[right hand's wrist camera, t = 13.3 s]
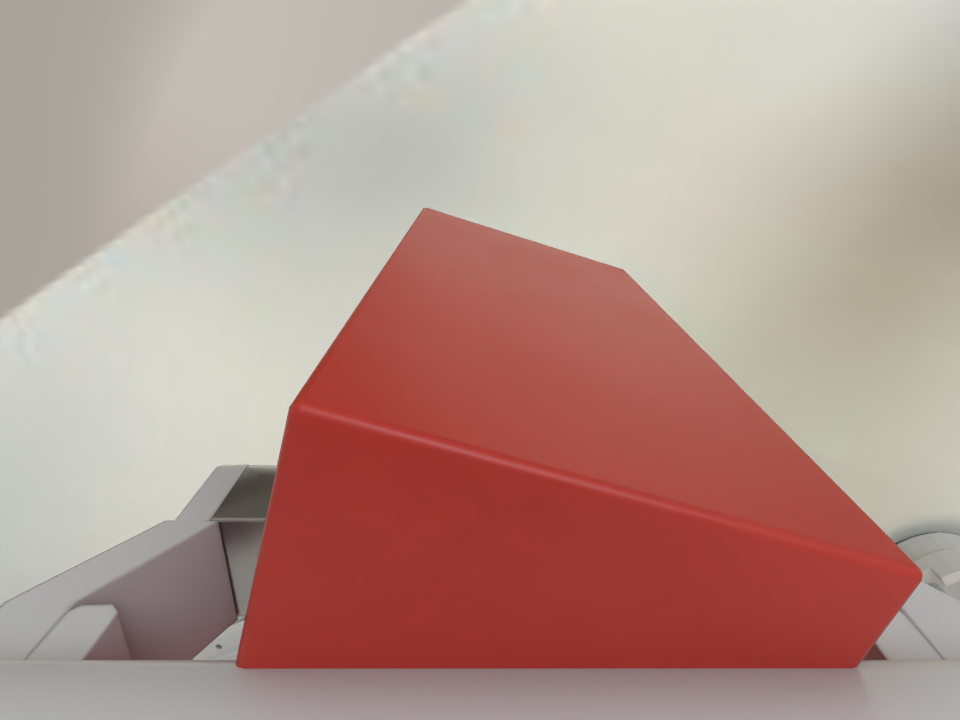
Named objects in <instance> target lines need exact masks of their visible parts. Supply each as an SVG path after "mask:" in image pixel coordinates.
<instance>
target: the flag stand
mask: <svg viewBox="0 0 960 720" xmlns="http://www.w3.org/2000/svg"><path fill="white" fill-rule="evenodd" d="M897 546H898V547H899V548H900V549H901V550H902V551H903V552H904V553H905V554H906V555H907V556H908V557H909V558H910V559H911V560H912V561H913V562H914V563H915V564H916V565H917V566H918V567H919V568H920V569H921V571H922V573H923V576H922V582H924V583H926V584H928V585H930V586H932V587H934V588H936V589H938V590H940V591H942V592H944V593H946V594H948V595H950V596H952V597H954V598H956V599H958V600H960V535H956V534H952V533H930V534H924V535H920V536H916V537H913V538H910V539H908V540H905V541H903V542H901V543H899V544H897Z"/></svg>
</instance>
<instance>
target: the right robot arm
mask: <svg viewBox="0 0 960 720" xmlns="http://www.w3.org/2000/svg"><path fill="white" fill-rule="evenodd" d="M276 468H277V466H268V465H251V466H249V465H222V466H218V467H216V468H215V470H214V471H213V472H212V474H211V475H210V476H209V477H208V479H207V480H206V481H205V483H204V484H203V485H202V486H201V488H200V489H199V490H198V491H197V493H196V494H195V495H194V497H193V498H192V499H191V500H190V502H189V503H188V504H187V506H186V507H185V508H184V509H183V511H182V512H181V513H180V515H179V516H178V517H177V518H176V520H175V521H164V522H162V523H160V524H158V525H156V526H154V527H152V528H150V529H148V530H146V531H144V532H142V533H140V534H138V535H136V536H134V537H132V538H130V539H128V540H126V541H125V542H123V543H121V544H119V545H117V546H115V547H113V548H111V549H109V550H107V551H105V552H103V553H101V554H99V555H97V556H95V557H93V558H91V559H89V560H87V561H85V562H83V563H81V564H79V565H77V566H75V567H73V568H71V569H69V570H67V571H65V572H63V573H61V574H59V575H57V576H55V577H53V578H51V579H49V580H48V581H46V582H44V583H42V584H40V585H38V586H36V587H34V588H32V589H30V590H28V591H26V592H24V593H22V594H20V595H18V596H16V597H14V598H12V599H10V600H8V601H6V602H5V603H4V604H3V605H2V606H1V607H0V720H960V600H958V599H956V598H954V597H952V596H950V595H948V594H946V593H944V592H942V591H940V590H938V589H936V588H934V587H932V586H930V585H928V584H926V583H924V582H922V581H921V582H920V584H919V585H918V586H917V588H916V589H915V590H914V592H913V593H912V594H911V596H910V597H909V598H908V600H907V601H906V602H905V604H904V605H903V606H902V608H901V609H900V610H899V612H898V613H897V615H896V616H895V617H894V619H893V620H892V621H891V623H890V624H889V625H888V627H887V628H886V629H885V631H884V632H883V633H882V635H881V636H880V637H879V639H878V640H877V641H876V643H875V644H874V645H873V647H872V648H871V649H870V651H869V652H868V653H867V655H866V656H865V657H864V659H863V660H862V661H861V663H860V664H859V665H858V667H855V668H694V669H243V668H240V667H237V666H236V658H237V654H238V649H239V644H240V639H241V635H242V630H243V625H244V620H242V621H240V622H238V623H235V624H233V623H234V622H235V621H236V620H237V616H246V611H247V606H248V601H249V597H250V592H251V587H252V582H253V578H254V573H255V568H256V563H257V559H258V554H259V549H260V544H261V540H262V535H263V530H264V525H265V521H266V516H267V511H268V506H269V502H270V497H271V492H272V487H273V483H274V478H275V473H276ZM232 624H233V625H232ZM230 625H231V626H230Z"/></svg>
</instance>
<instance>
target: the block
mask: <svg viewBox="0 0 960 720" xmlns="http://www.w3.org/2000/svg"><path fill="white" fill-rule="evenodd" d="M922 576H923V573H922V571H921V569H920V568H919V567H918V566H917V565H916V564H915V563H914V562H913V561H912V560H911V559H910V558H909V557H908V556H907V555H906V554H905V553H904V552H903V551H902V550H901V549H900V548H899V547H898V546H897V545H896V544H895V543H894V542H893V541H892V540H891V539H890V538H889V537H888V536H887V535H886V534H885V533H884V532H883V531H882V530H881V529H880V528H879V527H878V526H877V525H876V524H875V523H874V522H873V521H872V520H871V519H870V518H869V517H868V516H867V515H866V514H865V513H864V512H863V511H862V510H861V508H860V507H859V506H858V505H857V504H856V503H855V502H854V501H853V500H852V499H851V498H850V497H849V496H848V495H847V494H846V493H845V492H844V491H843V490H842V489H841V488H840V487H839V486H838V485H837V484H836V483H835V482H834V481H833V480H832V479H831V478H830V477H829V476H828V475H827V474H826V473H825V472H824V471H823V470H822V469H821V468H820V467H819V466H818V465H817V464H816V463H815V462H814V461H813V460H812V459H811V458H810V457H809V456H808V455H807V454H806V453H805V452H804V451H803V450H802V449H801V448H800V447H799V446H798V445H797V444H796V443H795V442H794V441H793V440H792V439H791V438H790V437H789V436H788V435H787V434H786V433H785V432H784V431H783V430H782V429H781V428H780V427H779V426H778V425H777V424H776V423H775V422H774V421H773V420H772V419H771V418H770V417H769V416H768V415H767V414H766V413H765V412H764V411H763V410H762V409H761V408H760V407H759V406H758V405H757V404H756V403H755V402H754V401H753V400H752V399H751V398H750V397H749V396H748V395H747V394H746V393H745V392H744V391H743V390H742V389H741V388H740V387H739V386H738V385H737V384H736V383H735V382H734V381H733V380H732V379H731V378H730V377H729V376H728V375H727V374H726V373H725V372H724V371H723V370H722V369H721V368H720V367H719V366H718V365H717V363H716V362H715V361H714V360H713V359H712V358H711V357H710V356H709V355H708V354H707V353H706V352H705V351H704V350H703V349H702V348H701V347H700V346H699V345H698V344H697V343H696V342H695V341H694V340H693V339H692V338H691V337H690V336H689V335H688V334H687V333H686V332H685V331H684V330H683V329H682V328H681V327H680V326H679V325H678V324H677V323H676V322H675V321H674V320H673V319H672V318H671V317H670V316H669V315H668V314H667V313H666V312H665V311H664V310H663V309H662V308H661V307H660V306H659V305H658V304H657V303H656V302H655V301H654V300H653V299H652V298H651V297H650V296H649V295H648V294H647V293H646V292H645V291H644V290H643V289H642V288H641V287H640V286H639V285H638V284H637V283H636V282H635V281H634V280H633V279H632V278H631V277H630V276H629V275H628V274H627V273H626V272H625V271H624V270H623V269H620V268H616V267H613V266H610V265H607V264H604V263H600V262H597V261H594V260H591V259H588V258H585V257H581V256H578V255H575V254H572V253H569V252H565V251H562V250H559V249H556V248H553V247H549V246H546V245H543V244H540V243H537V242H534V241H530V240H527V239H524V238H521V237H518V236H514V235H511V234H508V233H505V232H502V231H499V230H495V229H492V228H489V227H486V226H483V225H479V224H476V223H473V222H470V221H467V220H464V219H460V218H457V217H454V216H451V215H448V214H444V213H441V212H438V211H435V210H432V209H428V208H424V209H423V210H422V211H421V213H420V214H419V216H418V217H417V219H416V220H415V222H414V223H413V225H412V226H411V228H410V229H409V231H408V232H407V233H406V235H405V236H404V238H403V239H402V241H401V242H400V244H399V245H398V247H397V248H396V250H395V251H394V253H393V254H392V256H391V257H390V259H389V260H388V262H387V263H386V265H385V266H384V268H383V269H382V271H381V272H380V274H379V275H378V276H377V278H376V279H375V281H374V282H373V284H372V285H371V287H370V288H369V290H368V291H367V293H366V294H365V296H364V297H363V299H362V300H361V302H360V303H359V305H358V306H357V308H356V309H355V311H354V312H353V314H352V315H351V317H350V318H349V320H348V321H347V322H346V324H345V325H344V327H343V328H342V330H341V331H340V333H339V334H338V336H337V337H336V339H335V340H334V342H333V343H332V345H331V346H330V348H329V349H328V351H327V352H326V354H325V355H324V357H323V358H322V360H321V361H320V363H319V364H318V365H317V367H316V368H315V370H314V371H313V373H312V374H311V376H310V377H309V379H308V380H307V382H306V383H305V385H304V386H303V388H302V389H301V391H300V392H299V394H298V395H297V397H296V398H295V400H294V401H293V403H292V404H291V406H290V407H289V411H288V416H287V421H286V426H285V430H284V435H283V440H282V445H281V449H280V454H279V459H278V464H277V468H276V473H275V478H274V483H273V487H272V492H271V497H270V502H269V506H268V511H267V516H266V521H265V525H264V530H263V535H262V540H261V544H260V549H259V554H258V559H257V563H256V568H255V573H254V578H253V582H252V587H251V592H250V597H249V601H248V606H247V611H246V616H245V620H244V625H243V630H242V635H241V639H240V644H239V649H238V654H237V658H236V666H237V667H240V668H243V669H694V668H855V667H858V665H859V664H860V663H861V661H862V660H863V659H864V657H865V656H866V655H867V653H868V652H869V651H870V649H871V648H872V647H873V645H874V644H875V643H876V641H877V640H878V639H879V637H880V636H881V635H882V633H883V632H884V631H885V629H886V628H887V627H888V625H889V624H890V623H891V621H892V620H893V619H894V617H895V616H896V615H897V613H898V612H899V610H900V609H901V608H902V606H903V605H904V604H905V602H906V601H907V600H908V598H909V597H910V596H911V594H912V593H913V592H914V590H915V589H916V588H917V586H918V585H919V584H920V582H921V581H922Z"/></svg>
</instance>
